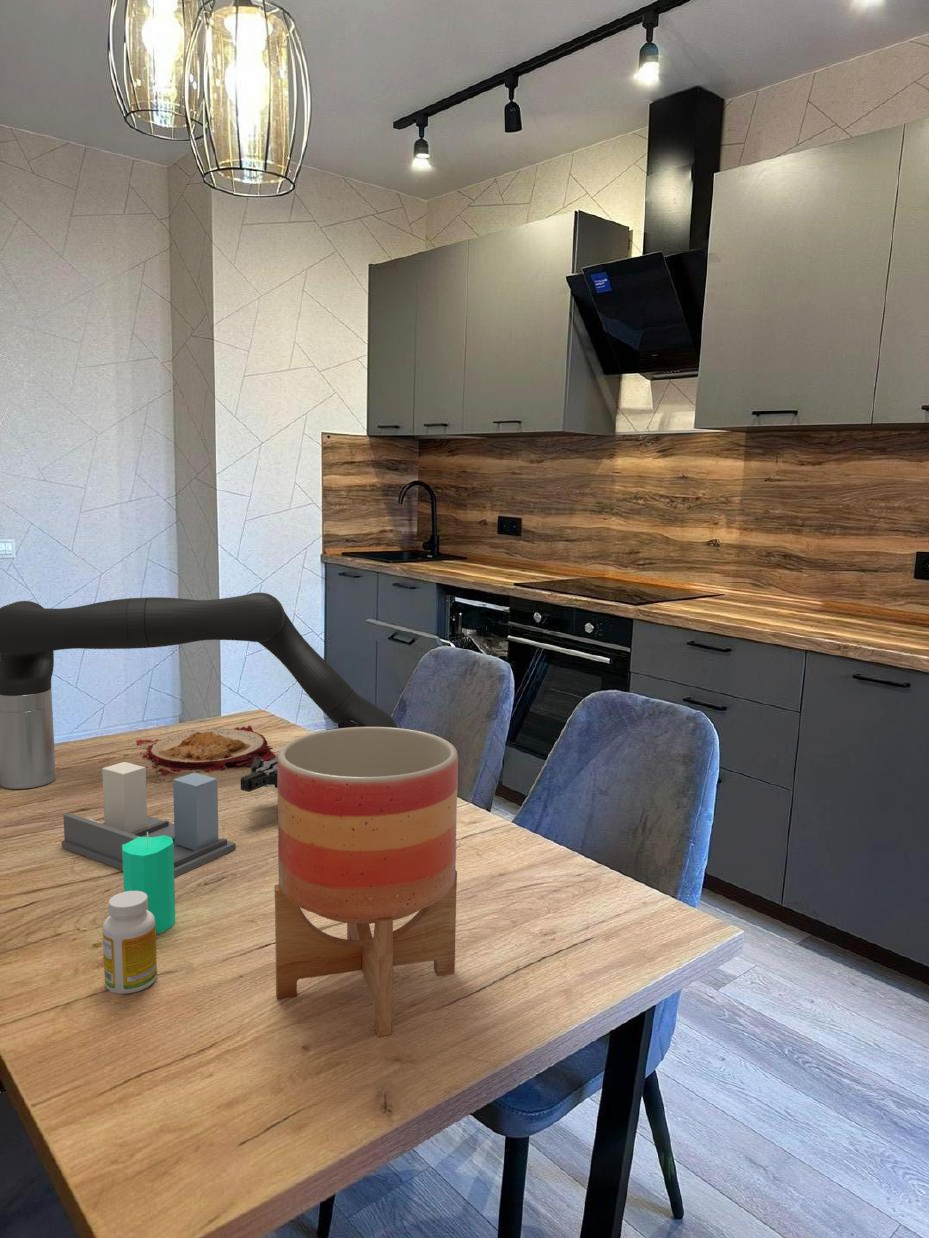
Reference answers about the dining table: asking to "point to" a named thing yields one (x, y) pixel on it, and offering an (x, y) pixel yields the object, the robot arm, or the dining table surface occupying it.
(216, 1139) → the dining table surface
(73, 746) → the dining table surface
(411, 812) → the planter
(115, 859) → the tray
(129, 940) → the supplement bottle
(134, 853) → the candle
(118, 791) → the ivory key
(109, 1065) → the dining table surface
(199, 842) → the slate blue key
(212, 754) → the plate with food
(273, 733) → the dining table surface
